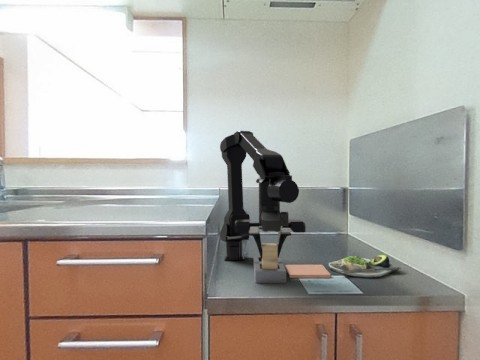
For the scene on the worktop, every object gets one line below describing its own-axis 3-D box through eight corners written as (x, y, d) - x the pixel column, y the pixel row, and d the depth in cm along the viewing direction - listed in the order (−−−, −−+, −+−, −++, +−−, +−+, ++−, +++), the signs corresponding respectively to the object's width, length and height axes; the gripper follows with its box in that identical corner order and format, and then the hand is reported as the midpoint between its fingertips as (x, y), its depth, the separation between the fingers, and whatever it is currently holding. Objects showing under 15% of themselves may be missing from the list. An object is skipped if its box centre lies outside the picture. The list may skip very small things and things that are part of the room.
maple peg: (261, 272, 103) (261, 243, 103) (276, 272, 103) (276, 243, 103) (262, 276, 99) (262, 246, 99) (277, 276, 99) (277, 246, 99)
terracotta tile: (285, 267, 112) (285, 264, 112) (322, 267, 111) (322, 264, 111) (290, 277, 101) (290, 274, 101) (330, 277, 100) (330, 274, 100)
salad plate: (368, 286, 95) (368, 268, 94) (314, 271, 108) (314, 255, 108) (407, 272, 107) (407, 256, 106) (353, 261, 121) (353, 246, 120)
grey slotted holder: (253, 265, 114) (253, 255, 114) (279, 265, 114) (279, 255, 114) (255, 282, 96) (255, 271, 96) (286, 282, 96) (286, 271, 96)
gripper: (234, 202, 93) (234, 265, 93) (309, 202, 92) (309, 265, 93) (235, 199, 104) (235, 255, 104) (302, 199, 104) (302, 255, 104)
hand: (269, 257), depth 101 cm, fingers closed on maple peg, 4 cm apart
